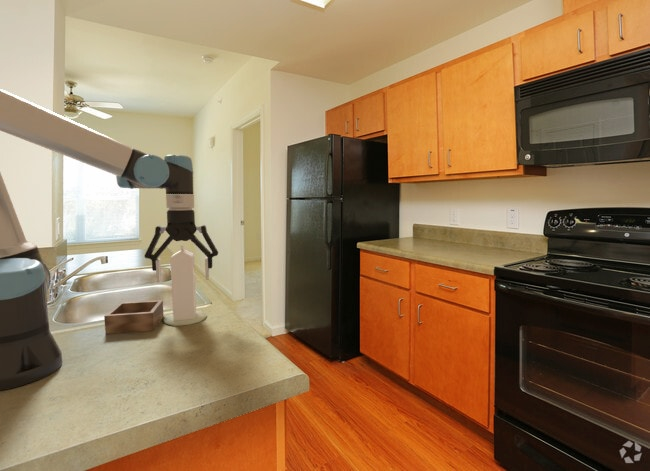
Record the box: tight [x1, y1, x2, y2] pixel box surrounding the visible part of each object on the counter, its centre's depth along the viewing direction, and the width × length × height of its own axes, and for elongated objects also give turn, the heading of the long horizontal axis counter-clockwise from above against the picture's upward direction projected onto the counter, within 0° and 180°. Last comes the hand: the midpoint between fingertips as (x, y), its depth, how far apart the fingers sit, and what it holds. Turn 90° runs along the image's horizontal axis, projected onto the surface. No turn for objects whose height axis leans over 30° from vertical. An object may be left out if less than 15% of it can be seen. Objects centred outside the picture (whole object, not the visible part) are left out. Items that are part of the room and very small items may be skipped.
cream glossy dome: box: [163, 309, 207, 327], centre depth 106 cm, size 12×12×1 cm
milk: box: [169, 243, 197, 321], centre depth 104 cm, size 6×6×22 cm
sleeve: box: [104, 299, 164, 335], centre depth 100 cm, size 12×12×5 cm
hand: (183, 280), depth 104 cm, fingers open, 13 cm apart
